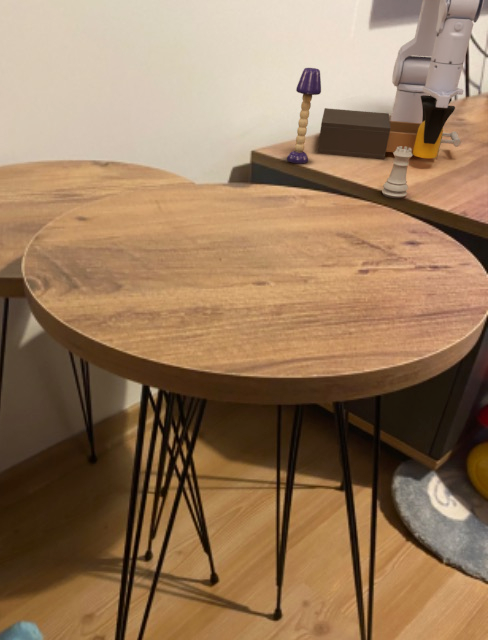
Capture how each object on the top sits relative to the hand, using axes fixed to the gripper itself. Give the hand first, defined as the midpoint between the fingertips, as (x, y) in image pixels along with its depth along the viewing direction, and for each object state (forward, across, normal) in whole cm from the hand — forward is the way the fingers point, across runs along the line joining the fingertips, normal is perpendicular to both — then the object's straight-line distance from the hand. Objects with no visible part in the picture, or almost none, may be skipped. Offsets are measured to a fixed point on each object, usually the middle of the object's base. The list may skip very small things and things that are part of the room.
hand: (428, 139), depth 127 cm
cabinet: (+5, +10, +14) cm, 18 cm away
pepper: (+3, 0, 0) cm, 3 cm away
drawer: (+4, +9, +1) cm, 11 cm away
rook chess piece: (+6, -18, +6) cm, 20 cm away
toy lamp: (+6, -4, +24) cm, 25 cm away
